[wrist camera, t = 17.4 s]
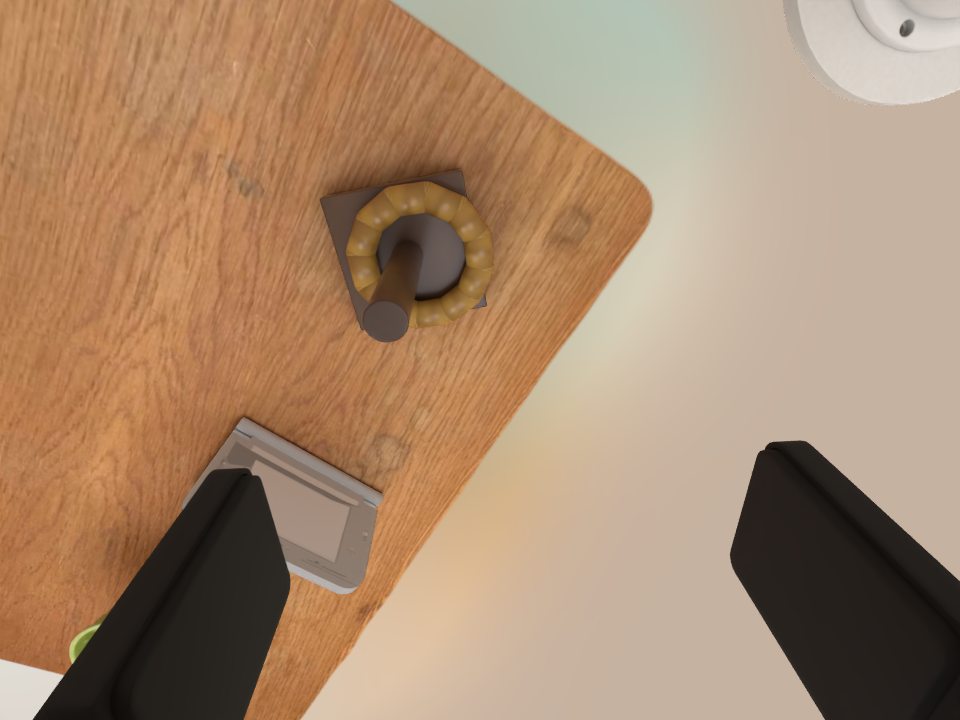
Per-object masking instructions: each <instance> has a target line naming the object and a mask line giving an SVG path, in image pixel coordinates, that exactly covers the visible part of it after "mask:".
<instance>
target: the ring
mask: <svg viewBox="0 0 960 720" xmlns="http://www.w3.org/2000/svg"><path fill="white" fill-rule="evenodd" d="M421 213H426V214H429V215H431V216H434V217H436V218H439V219H441V220H444V221H446V222H448V223H449V224H450V226H451V227H452V228H453V229H454V231H455V232H456V233H457V234H458V236H459V237H460V238H461V239H462V241H463V245H464V252H465V259H466V266H465V268H464V271H463V273H462V276H461V278H460V281H459V283H458V285H457V286H456V287H454V288H453V289H452V290H450V291H449V292H448V293H446V294H445V295H444V296H443V297H441V298H437V299H430V300H424V301H416V300H414V303H413V308H412V313H411V317H410V322H409V327H412V328H424V327H431V326H438V325H445V324H450V323H453V322H454V321H456V320H457V319H458V318H460V317H461V316H462V315H463V314H465V313H466V312H467V311H469V310H470V309H471V308H473V307H474V306H475V305H477V304H478V303H479V302H480V301H481V299H482V297H483V294H484V292H485V290H486V287H487V285H488V283H489V280H490V278H491V276H492V273H493V271H494V257H493V249H492V241H491V233H490V229H489V227H488V226H487V225H486V223H485V222H484V221H483V219H482V218H481V217H480V215H479V214H478V213H477V211H476V210H475V209H474V207H473V206H472V205H471V203H470V202H469V201H468V199H467V198H466V197H464V196H462V195H460V194H458V193H455V192H453V191H451V190H448V189H446V188H444V187H441V186H439V185H437V184H434V183H432V182H429V181H422V182H415V183H409V184H402V185H395V186H389V187H387V188H385V189H384V190H383V191H381V192H380V193H379V194H378V195H377V196H376V197H375V198H373V199H372V200H371V201H370V202H369V203H368V204H366V205H365V206H364V207H363V208H362V209H361V210H360V211H359V212H358V213H357V215H356V217H355V220H354V224H353V227H352V230H351V234H350V237H349V240H348V244H347V247H346V255H347V259H348V263H349V267H350V271H351V275H352V279H353V283H354V286H355V288H356V290H357V291H358V292H359V293H360V295H361V296H362V297H363V298H364V299H365V300H366V301H367V302H369V300H370V298H371V296H372V294H373V292H374V290H375V287H376V285H377V283H378V281H379V279H380V277H381V274H380V270H379V265H378V261H377V257H376V251H377V248H378V245H379V242H380V239H381V236H382V232H383V231H384V230H385V229H386V228H388V227H389V226H390V225H391V224H392V223H394V222H395V221H396V220H397V219H398V218H399V217H401V216H407V215H414V214H421Z"/></svg>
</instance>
